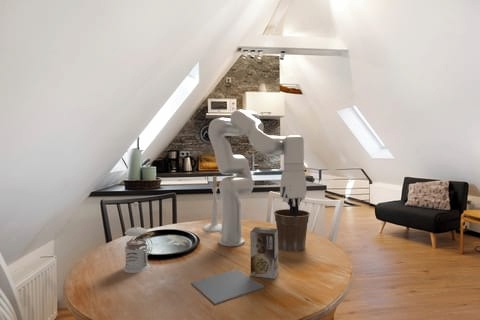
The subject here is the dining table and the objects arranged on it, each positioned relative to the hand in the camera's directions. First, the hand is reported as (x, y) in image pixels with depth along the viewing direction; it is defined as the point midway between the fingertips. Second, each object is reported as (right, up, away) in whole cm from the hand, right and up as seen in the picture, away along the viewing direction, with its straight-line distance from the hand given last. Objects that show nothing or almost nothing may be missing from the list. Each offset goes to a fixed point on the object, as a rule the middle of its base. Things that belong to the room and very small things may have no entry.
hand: (294, 215), depth 112 cm
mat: (-25, -20, -16) cm, 36 cm away
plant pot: (+3, -19, +22) cm, 29 cm away
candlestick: (-35, -17, +52) cm, 65 cm away
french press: (-59, -20, -1) cm, 62 cm away
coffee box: (-12, -20, -7) cm, 24 cm away
